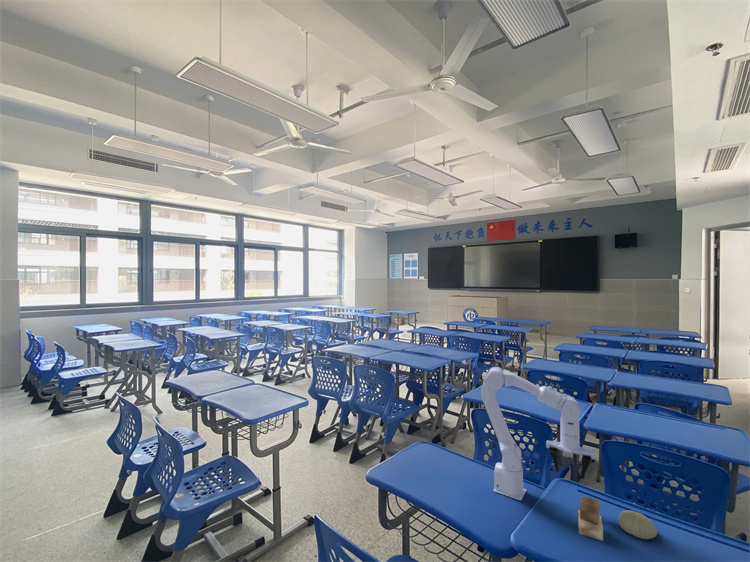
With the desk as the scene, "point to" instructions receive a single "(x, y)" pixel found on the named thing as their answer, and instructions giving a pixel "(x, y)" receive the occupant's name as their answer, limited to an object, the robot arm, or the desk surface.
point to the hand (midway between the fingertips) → (570, 474)
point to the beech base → (590, 528)
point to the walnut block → (589, 509)
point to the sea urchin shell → (637, 525)
